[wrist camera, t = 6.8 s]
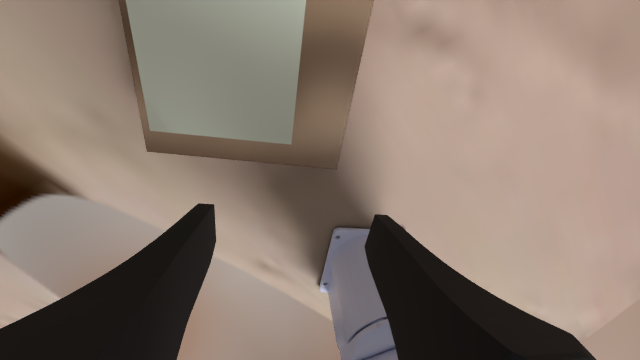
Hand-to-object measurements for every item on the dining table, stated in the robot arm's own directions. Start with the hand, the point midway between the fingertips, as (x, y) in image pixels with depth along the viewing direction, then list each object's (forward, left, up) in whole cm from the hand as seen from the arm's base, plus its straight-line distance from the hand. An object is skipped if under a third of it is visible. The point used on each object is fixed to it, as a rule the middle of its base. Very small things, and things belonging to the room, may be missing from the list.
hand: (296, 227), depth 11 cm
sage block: (+6, +3, -6) cm, 9 cm away
